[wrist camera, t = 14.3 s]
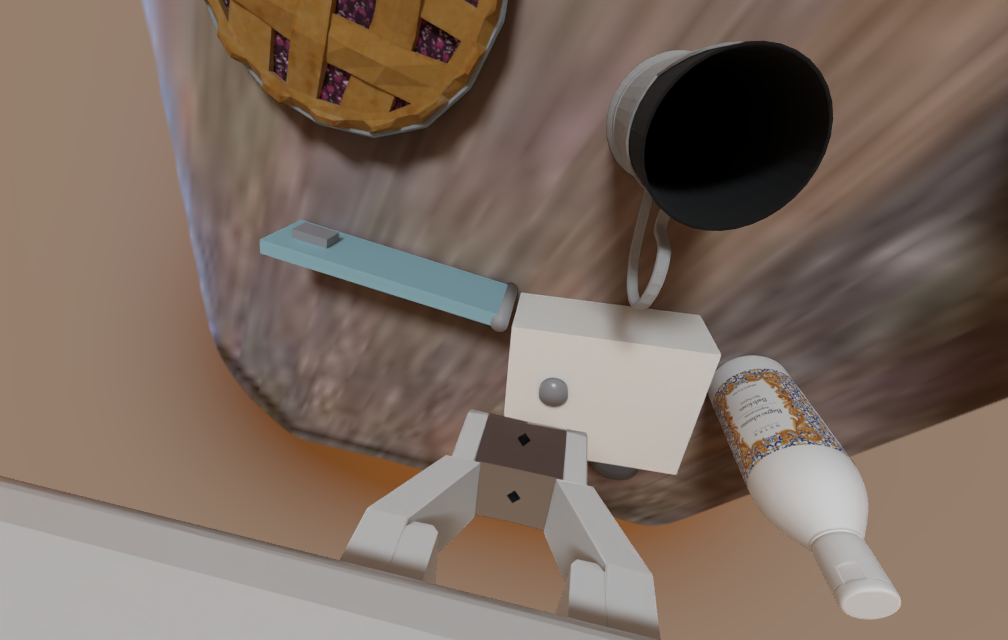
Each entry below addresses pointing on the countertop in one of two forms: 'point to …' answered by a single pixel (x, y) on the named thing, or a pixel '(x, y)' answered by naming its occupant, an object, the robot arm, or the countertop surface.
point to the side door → (393, 272)
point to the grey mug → (716, 139)
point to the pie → (362, 56)
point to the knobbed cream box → (611, 378)
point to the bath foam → (801, 479)
